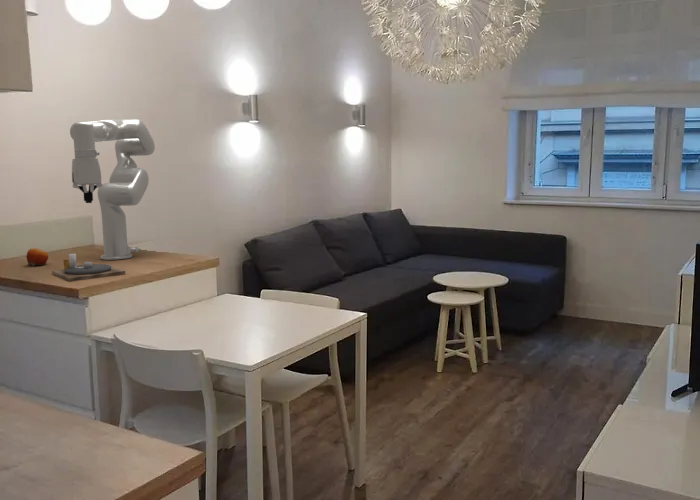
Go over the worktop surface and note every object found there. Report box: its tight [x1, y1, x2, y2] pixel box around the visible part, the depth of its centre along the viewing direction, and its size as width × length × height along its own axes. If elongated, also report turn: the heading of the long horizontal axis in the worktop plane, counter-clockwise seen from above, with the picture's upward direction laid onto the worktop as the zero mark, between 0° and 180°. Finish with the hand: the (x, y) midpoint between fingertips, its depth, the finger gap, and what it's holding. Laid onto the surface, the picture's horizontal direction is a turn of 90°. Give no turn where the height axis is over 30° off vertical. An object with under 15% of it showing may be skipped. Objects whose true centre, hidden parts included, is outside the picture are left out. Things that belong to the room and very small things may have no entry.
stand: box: [51, 258, 127, 282], centre depth 252 cm, size 20×20×5 cm
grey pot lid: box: [65, 253, 112, 275], centre depth 252 cm, size 16×16×6 cm
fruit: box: [25, 247, 49, 268], centre depth 273 cm, size 8×8×8 cm
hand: (88, 202), depth 264 cm, fingers closed
